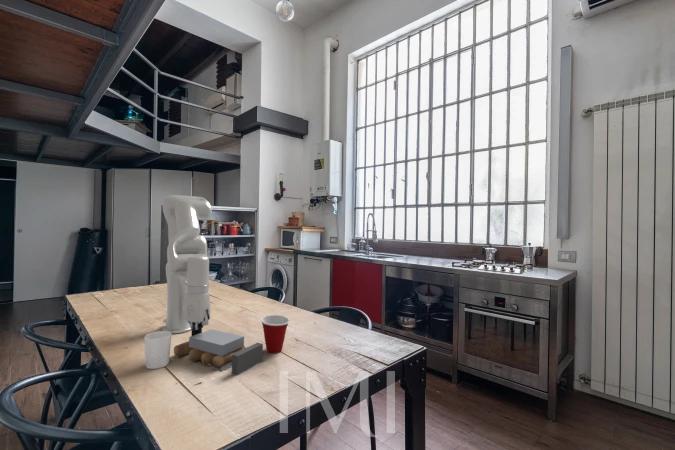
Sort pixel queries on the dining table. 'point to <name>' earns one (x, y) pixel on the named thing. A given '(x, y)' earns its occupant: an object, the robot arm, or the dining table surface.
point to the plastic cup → (274, 332)
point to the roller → (224, 358)
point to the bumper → (247, 358)
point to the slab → (216, 342)
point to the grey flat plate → (221, 366)
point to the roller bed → (193, 353)
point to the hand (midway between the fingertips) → (196, 339)
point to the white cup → (157, 349)
